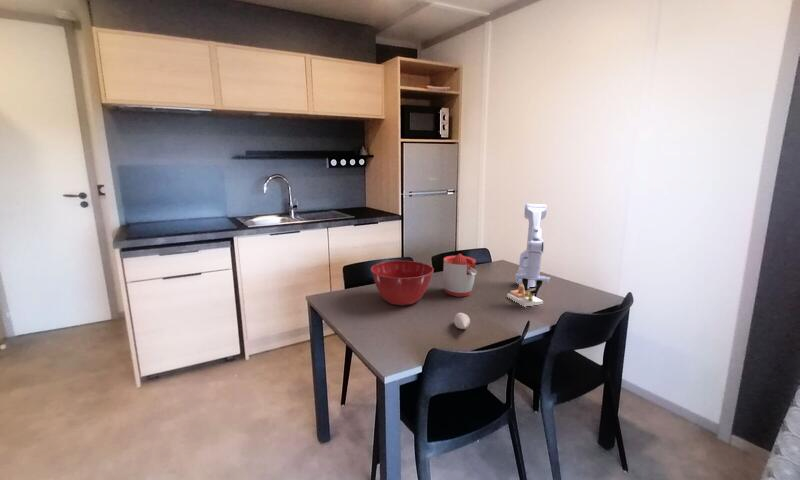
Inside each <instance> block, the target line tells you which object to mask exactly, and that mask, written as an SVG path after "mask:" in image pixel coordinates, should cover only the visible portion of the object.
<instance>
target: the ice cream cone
mask: <svg viewBox="0 0 800 480" xmlns="http://www.w3.org/2000/svg"><path fill="white" fill-rule="evenodd" d="M453 322H454V325H455V327H456V328H457V329H460V330H465V329H467V328H468V327H469V326H470V324H471V319H470V317H469V315H468V314H467V313H464V312H458V313H456V314H455V317H454V321H453Z"/></svg>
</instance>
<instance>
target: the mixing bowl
mask: <svg viewBox="0 0 800 480" xmlns="http://www.w3.org/2000/svg"><path fill="white" fill-rule="evenodd" d="M370 271H371V274H372V278H373V281H374V284H375V286H376V288H377V290H378V292H379V295H380V296H381V297H382V298H383V300H384V301H386V302H387V303H389V304H391V305H395V306H410V305H413V304H415V303H417V302H418V301H420V299H422V298H423V296H424V294H425V293H426V291H427V289H428V287H429V284H430V282H431V279H432V276H433V275H432V274H433V273H434V268H433V266H432V265H430V264H428V263H427V264H426V263H424V262H419V261H413V260H389V261H384V262H379V263H375V264H373V265H372V266H371V267H370Z"/></svg>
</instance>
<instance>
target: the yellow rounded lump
mask: <svg viewBox="0 0 800 480" xmlns="http://www.w3.org/2000/svg"><path fill="white" fill-rule="evenodd" d="M535 290H536V288H530V289H528V290H527V291H526V294H527V295H526V294H525V293H522V295H525V296H527V297H529V298H528V300H529V301H532V300H533V296H534V295H535Z"/></svg>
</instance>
